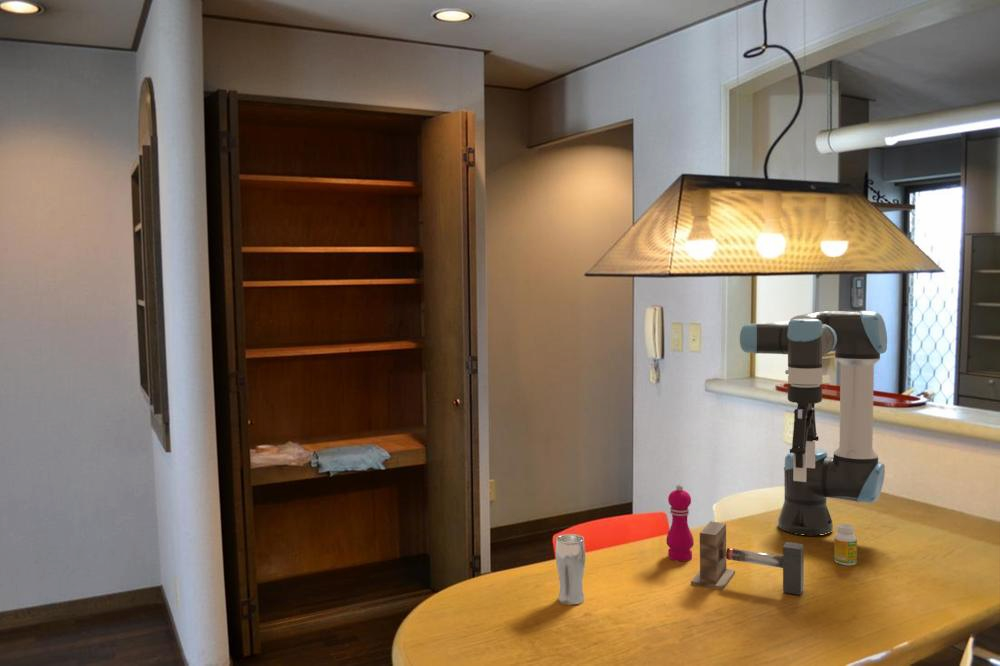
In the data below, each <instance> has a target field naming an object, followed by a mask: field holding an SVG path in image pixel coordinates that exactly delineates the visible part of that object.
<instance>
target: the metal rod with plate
mask: <svg viewBox="0 0 1000 666" xmlns="http://www.w3.org/2000/svg"><path fill="white" fill-rule="evenodd" d="M804 545H805V544H803V543H797V542H789V541H785V543H784V545H783V547H782V555H780V554H779V555H778V554H771V553H766V552H759V551H750V550H747V549H746V550H745V549H737V548H732V547H726V560H728V561H735V562H741V563H747V564H755V565H760V566H768V567H773V568H780V569H782V592H783V593H786V594H791V595H792V594H793V595H799V596H801V595H802V593H803V591H804V588H805V587H804V581H805V580H804V575H805V574H804V568H805V567H804V565H805V564H804V562H805V560H804V557H805V556H804V555H805V554H804V553H805V552H804V549H805V547H804Z"/></svg>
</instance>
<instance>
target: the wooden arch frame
mask: <svg viewBox="0 0 1000 666" xmlns="http://www.w3.org/2000/svg"><path fill="white" fill-rule="evenodd" d="M726 552H727V523H725V522H719V521H712V520H710V521H709V522H708V523H707V524H706V526H704V527H703V529H702V530H701V531H700V532H699V570H698V572H697V573H696V574H695V576H694V577H693V578H692V579H691V580H690V585H693V586H696V587H697V586H698V587H705V588H709V589H715V590H721V591H724V590H725V589H726V587H727V586H728V584H729V583H730V582H731V580H732V578H733V577H734V575H735V574H736V569H732V568H731V569H730V568H727V558H726Z"/></svg>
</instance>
